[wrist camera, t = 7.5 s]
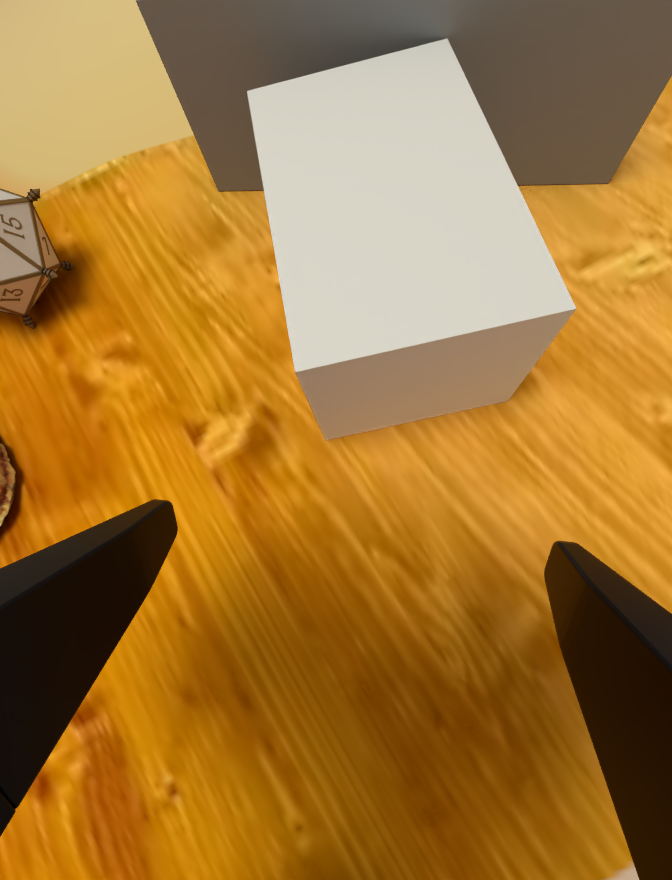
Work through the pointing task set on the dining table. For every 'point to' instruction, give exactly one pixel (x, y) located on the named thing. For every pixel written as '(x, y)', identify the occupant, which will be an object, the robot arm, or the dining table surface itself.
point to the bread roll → (6, 483)
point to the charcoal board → (417, 23)
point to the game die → (24, 255)
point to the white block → (400, 243)
